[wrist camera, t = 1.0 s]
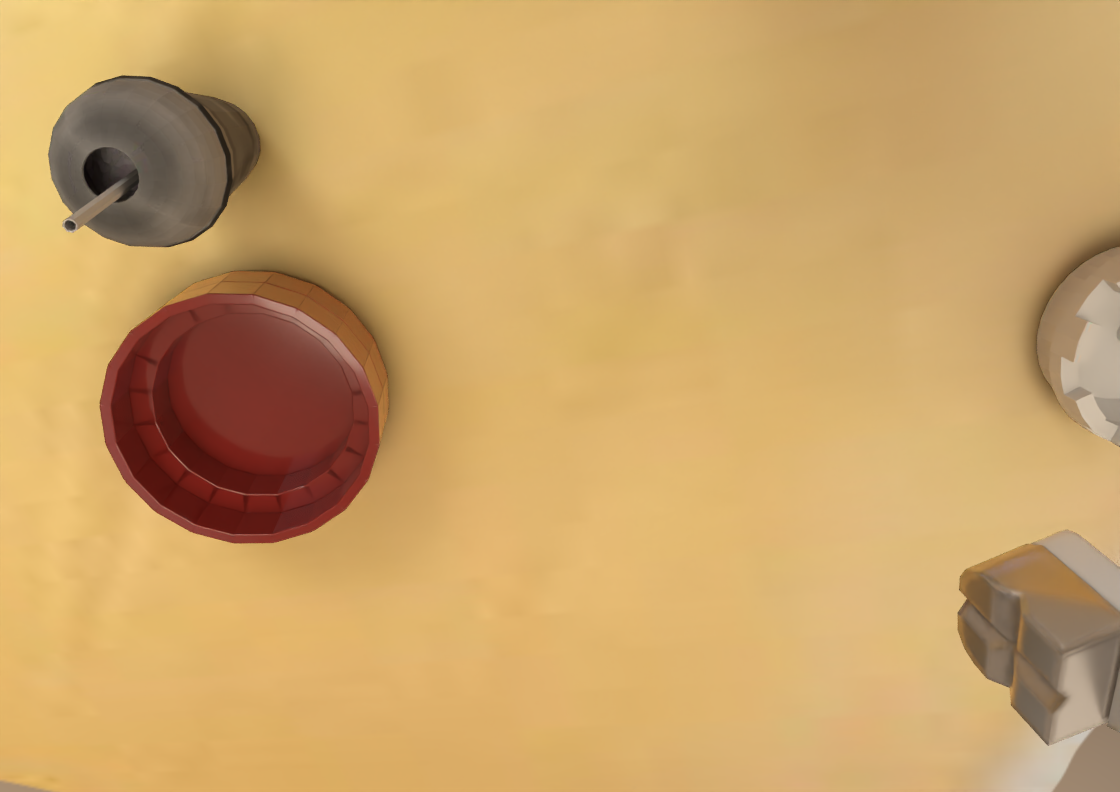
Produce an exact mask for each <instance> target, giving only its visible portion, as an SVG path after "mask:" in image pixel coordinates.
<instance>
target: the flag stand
mask: <svg viewBox="0 0 1120 792" xmlns="http://www.w3.org/2000/svg"><path fill="white" fill-rule="evenodd" d="M1037 356H1038V361H1039V366H1040V368H1041V370H1042V373H1043V375H1044V377H1045V379H1046V380H1047V382H1048V383H1049V384H1050V385H1051V387H1052V388H1053V390H1054V393H1055V395H1056V397H1057V400H1058V402H1059V404H1060V405H1061V407H1062V408H1063V409H1064V410H1065V412H1066V413H1067V414H1068V416H1069V417H1070V418H1071V419H1073V420H1074V421H1075V422H1077V423H1078V424H1079V425H1080V426H1082V427H1083V428H1085V429H1086V430H1088V431H1090V432H1091V433H1093V434H1095V435H1097V436H1099V437H1102V438H1104V439H1106V440H1108V441H1111V442H1112V443H1114V444H1116V445H1117V446H1119V447H1120V247H1115V248H1112V249H1110V250H1107V251H1104V252H1102V253H1099V254H1097V255H1096V256H1094V257H1092V258H1091V259H1089V260H1087V261H1085V262H1084V263H1082V264H1081V265H1080V266H1079V267H1078V268H1076V269H1075V270H1074V271H1073V272H1072V273H1070V274H1069V275H1068V276H1067V277H1066V279H1065V280H1064V281H1063V282H1062V283H1061V284H1060V285H1059V287H1058V288H1057V289H1056V291H1055V292H1054V294H1053V295H1052V297H1051V299H1050V300H1049V302H1048V303H1047V306H1046V308H1045V310H1044V313H1043V315H1042V318H1041V320H1040V325H1039V329H1038V334H1037Z"/></svg>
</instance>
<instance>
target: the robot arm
mask: <svg viewBox="0 0 1120 792" xmlns="http://www.w3.org/2000/svg"><path fill="white" fill-rule="evenodd" d="M959 590H960V591H961V592H962V593H963V594H964V595H965V597H966V598H967V600H966V601H965V603H964V604H963V606H962V607H961V609H960V610H959V612H958V632H959V635H960V638H961V640H962V643H963V646H964V648H965V650H966V652H967V653H968V655H969V656H970V658H971V660H972V661H973V663H974V664H975V665H976V666H977V668H978V669H979V670H980V671H981V672H982V673H983V674H984V676H985V677H986V678H987V679H989V680H992V681H994V682H997V683H999V684H1002V685H1004V686H1007V687H1009V688H1010V698H1011V706H1012V707H1013V708H1014V709H1015V710H1016V711H1017V712H1018V713H1019V714H1020V716H1021V717H1022V718H1023V719H1024V720H1025V721H1026V722H1027V723H1028V724H1029V725H1030V727H1031V728H1032V729H1033V730H1034V731H1035V732H1036V733H1037V734H1038V735H1039V736H1040V738H1041V739H1042V740H1043V741H1044V742H1045V743H1046V744H1047V745H1048V746H1049V745H1052V744H1054V743H1057V742H1059V741H1062V740H1064V739H1067V738H1069V737H1072V736H1074V735H1077V734H1079V733H1082V732H1084V731H1087V730H1089V729H1092V728H1094V727H1097V726H1099V725H1102V724H1104V723H1107V722H1108V724H1107V727H1110V728H1111V729H1113V730H1116V731H1118V732H1120V567H1119V566H1117V565H1116V564H1115V563H1114V562H1112V561H1111V560H1110V559H1109V558H1107V557H1106V556H1105V555H1104V554H1102V553H1101V552H1100V551H1099V550H1097V549H1096V548H1095V547H1094V546H1092V545H1091V544H1090V543H1089V542H1087V541H1086V540H1085V539H1084V538H1082V537H1081V536H1080V535H1078V534H1077V533H1075V532H1072V531H1069V530H1063V531H1059V532H1057V533H1054V534H1052V535H1050V536H1047V537H1045V538H1043V539H1040V540H1038V541H1036V542H1033V543H1031V544H1025V545H1022V546H1020V547H1018V548H1015V549H1013V550H1011V551H1008V552H1006V553H1003V554H1001V555H999V556H996V557H994V558H991V559H989V560H987V561H984V562H982V563H980V564H977V565H975V566H972V567H970V568H968V569H966V570H965V571H964V572H963V573H962V575H961V576H960V585H959Z"/></svg>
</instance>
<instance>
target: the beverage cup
mask: <svg viewBox="0 0 1120 792" xmlns="http://www.w3.org/2000/svg"><path fill="white" fill-rule="evenodd" d="M259 153H260V141H259V135H258V133H257V130H256V128H255V125H254V123H253V122H252V121H251V119H250V118H249V117H248V116H247V114H246V113H245V112H243V111H242V110H241V109H239V108H238V107H237V106H235V105H233V104H231V103H228V102H225V101H223V100H220V99H217V98H214V97H209V96H203V95H198V94H192V93H186V92H184V91H183V90H182V89H180V88H179V87H177V86H174V85H171V84H169V83H166V82H163V81H160V80H158V79H155V78H152V77H143V76H119V77H116V78H112V79H109V80H105V81H102V82H98V83H96V84H95V85H93V86H92V87H91V88H89V89H88V90H87V91H85V92H84V93H83V94H81V95H80V96H79V97H77V98H76V99H75V100H74V101H72V102H71V103H70V104H69V105H67V106H66V108H65V109H64V111H63V113H62V114H61V116H60V118H59V119H58V121H57V123H56V124H55V126H54V127H53V131H52V137H51V142H50V147H49V153H48V157H49V163H50V170H51V177H52V180H53V182H54V185H55V187H56V189H57V191H58V193H59V195H60V197H61V199H62V201H63V203H64V204H65V205H66V206H67V207H68V208H69V210H70V211H71V212H72V213H73V214H72V215H71V216H70V217H68V218H67V219H65V220H64V221H63V227H64V229H65V230H66V231H68V232H72V233H73V232H74V231H76V230H78V229H79V228H80V227H82V226H83V225H86V226H87V227H89V228H90V229H92V230H93V231H95V232H96V233H98V234H99V235H101V236H103V237H104V238H107V239H110V240H113V241H116V242H119V243H122V244H125V245H128V246H145V247H171V246H174V245H178V244H181V243H185V242H188V241H192V240H194V239H195V238H197V237H198V236H199V235H201V234H202V233H204V232H205V231H206V230H208V229H209V228H211V227H212V226H213V225H214V223H215V222H216V220H217V219H218V218H219V216H220V215H221V213H222V212H223V210H224V209H225V207H226V206H227V202H228V198H229V196H230V195H231V194H232V193H233V192H234V191H235V190H236V189H237V188H238V187H239V186H240V185H241V183H242V182H243V181H244V180H245V179H246V178H247V177H248V175H249V174H250V172H251V171H252V169H253V168H254V166H255V165H256V163H257V161H258V157H259Z"/></svg>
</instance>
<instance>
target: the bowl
mask: <svg viewBox="0 0 1120 792" xmlns="http://www.w3.org/2000/svg"><path fill="white" fill-rule="evenodd" d="M388 410H389V403H388V375H387V372H386V369H385V366H384V364H383V361H382V358H381V356H380V353H379V351H378V348H377V345H376V343H375V340H374V338H373V337H372V336H371V334H370V333H369V332H368V331H367V329H366V328H365V327H364V326H363V324H362V323H361V322H360V321H359V319H358V318H357V317H356V316H355V314H354V313H353V312H352V311H351V309H350V308H348V307H347V306H346V305H344V304H343V303H341V302H340V301H338V300H337V299H335V298H334V297H332V296H331V295H330V294H328V293H327V292H325V291H324V290H322V289H321V288H319V287H318V286H316V285H314V284H311V283H308V282H305V281H302V280H299V279H296V278H292V277H289V276H286V275H283V274H280V273H277V272H259V271H234V272H233V271H232V272H228V273H225V274H222V275H218V276H215V277H212V278H209V279H205V280H202V281H199V282H195V283H194V284H192V285H191V286H189V287H188V288H187V289H185V290H184V291H183V292H181V293H180V294H178V295H177V296H176V297H174V298H173V299H172V300H170V301H169V302H167V303H166V304H165V305H163V306H162V307H161V308H159V309H158V310H157V311H156V312H154V313H153V314H152V315H150V316H149V317H148V318H146V319H145V320H144V321H143V322H141V323H140V324H139V325H137V326H136V327H135V328H133V329H132V330H131V331H130V332H129V333H128V335H127V336H126V338H125V340H124V341H123V343H122V344H121V346H120V347H119V349H118V350H117V352H116V353H115V355H114V356H113V358H112V359H111V361H110V362H109V364H108V366H107V371H106V376H105V380H104V385H103V390H102V395H101V400H100V411H101V418H102V424H103V430H104V437H105V443H106V446H107V448H108V450H109V452H110V454H111V456H112V458H113V460H114V462H115V463H116V465H117V467H118V469H119V471H120V473H121V475H122V477H123V479H124V480H125V482H126V483H127V484H128V485H129V486H130V487H131V488H132V489H133V490H134V491H135V492H136V493H137V494H138V495H139V496H140V497H141V498H142V499H143V500H144V501H145V502H146V503H147V504H148V505H149V506H150V507H151V508H152V509H153V510H154V511H155V512H157V513H158V514H160V515H162V516H164V517H165V518H167V519H169V520H171V521H172V522H174V523H176V524H178V525H180V526H181V527H183V528H185V529H187V530H188V531H190V532H193V533H196V534H200V535H203V536H207V537H211V538H215V539H219V540H223V541H227V542H230V543H274V542H279V541H282V540H286V539H289V538H292V537H296V536H299V535H302V534H306V533H309V532H312V531H314V530H316V529H317V528H319V527H320V526H322V525H323V524H325V523H326V522H328V521H329V520H331V519H332V518H334V517H335V516H337V515H338V514H340V513H341V512H343V511H344V510H345V509H346V508H347V507H348V506H349V505H350V503H351V502H352V501H353V499H354V498H355V497H356V495H357V494H358V493H359V492H360V490H361V489H362V488H363V486H364V485H365V484H366V482H367V481H368V479H369V477H370V474H371V470H372V467H373V464H374V461H375V458H376V455H377V452H378V449H379V446H380V442H381V438H382V434H383V430H384V426H385V422H386V419H387V415H388Z"/></svg>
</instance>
